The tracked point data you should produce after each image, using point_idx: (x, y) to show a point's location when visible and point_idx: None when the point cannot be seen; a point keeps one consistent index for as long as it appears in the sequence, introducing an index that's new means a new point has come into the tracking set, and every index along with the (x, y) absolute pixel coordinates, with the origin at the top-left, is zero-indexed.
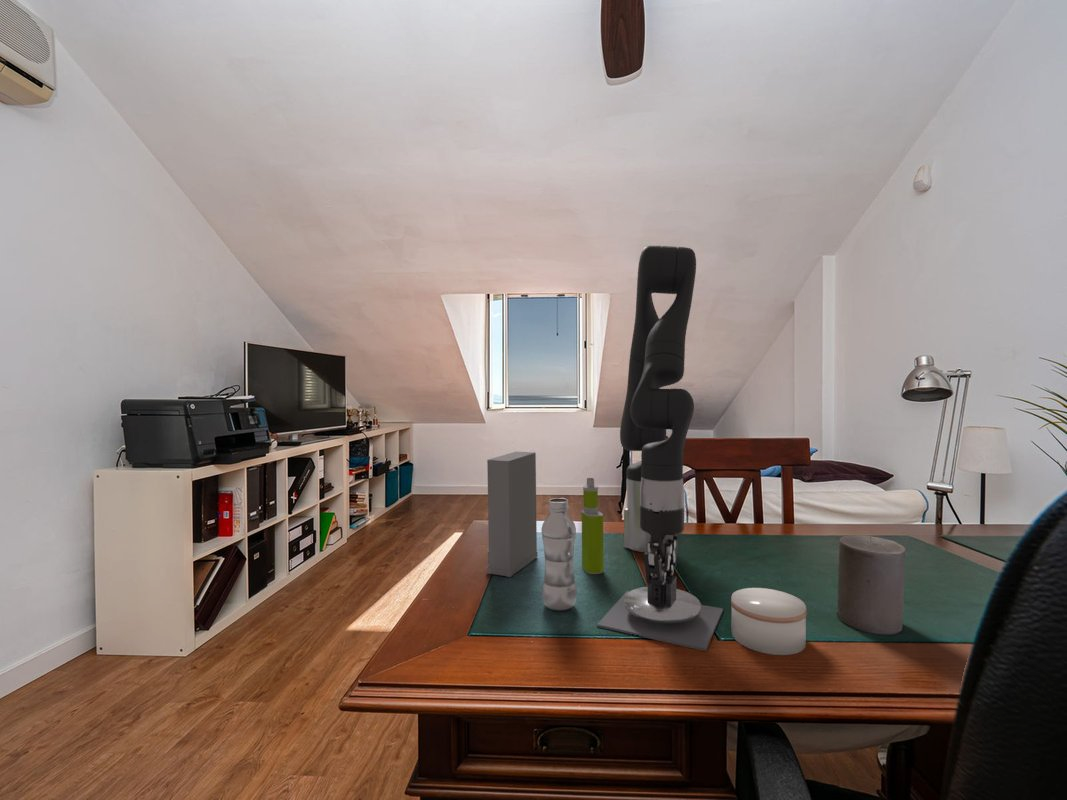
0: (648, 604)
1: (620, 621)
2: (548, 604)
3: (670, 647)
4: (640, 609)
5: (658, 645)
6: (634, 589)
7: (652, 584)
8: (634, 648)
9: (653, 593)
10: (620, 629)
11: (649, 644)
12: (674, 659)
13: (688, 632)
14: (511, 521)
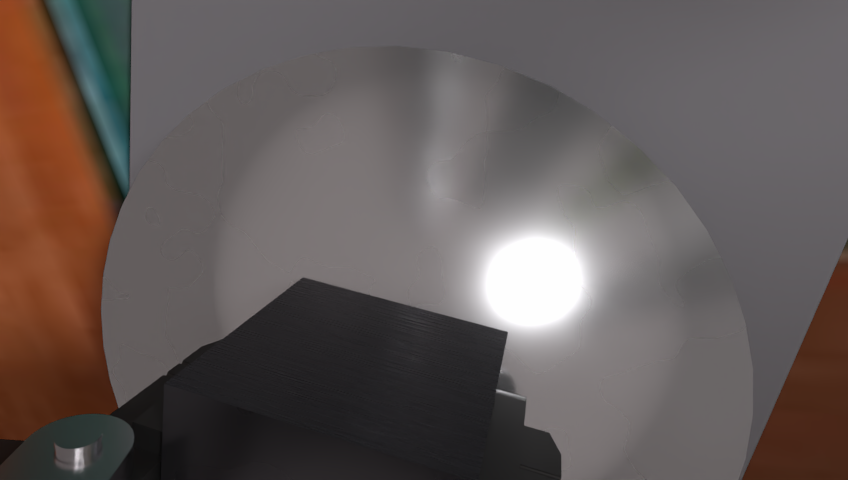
0: (273, 285)
1: (239, 48)
2: None
3: (101, 359)
4: (161, 224)
5: (94, 302)
6: (605, 125)
7: (142, 423)
8: (12, 179)
9: (160, 385)
10: (131, 69)
11: (83, 256)
12: (12, 370)
13: None
14: None
